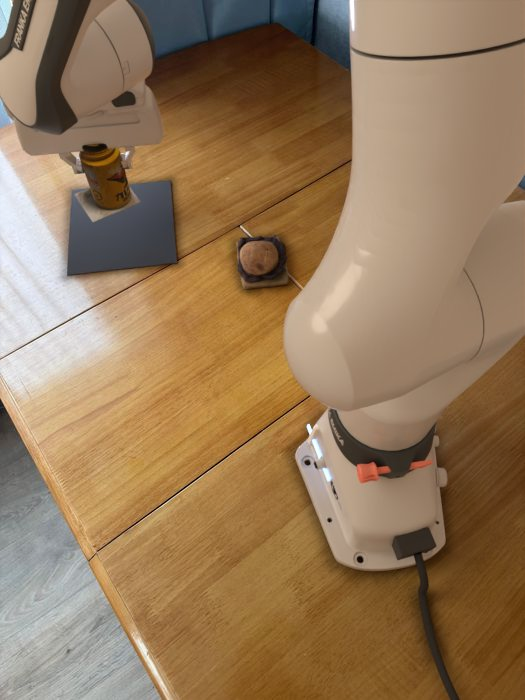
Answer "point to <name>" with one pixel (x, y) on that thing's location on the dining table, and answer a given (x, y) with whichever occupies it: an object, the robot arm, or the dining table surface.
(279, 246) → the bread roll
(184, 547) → the dining table surface
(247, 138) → the dining table surface
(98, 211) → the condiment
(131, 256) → the placemat
